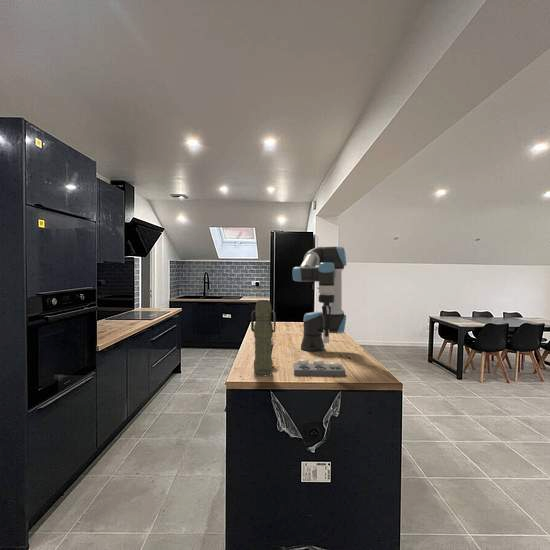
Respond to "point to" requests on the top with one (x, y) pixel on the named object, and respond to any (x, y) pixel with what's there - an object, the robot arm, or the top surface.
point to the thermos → (263, 337)
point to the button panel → (319, 370)
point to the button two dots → (303, 362)
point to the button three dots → (318, 363)
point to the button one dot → (334, 364)
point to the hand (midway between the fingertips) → (326, 342)
